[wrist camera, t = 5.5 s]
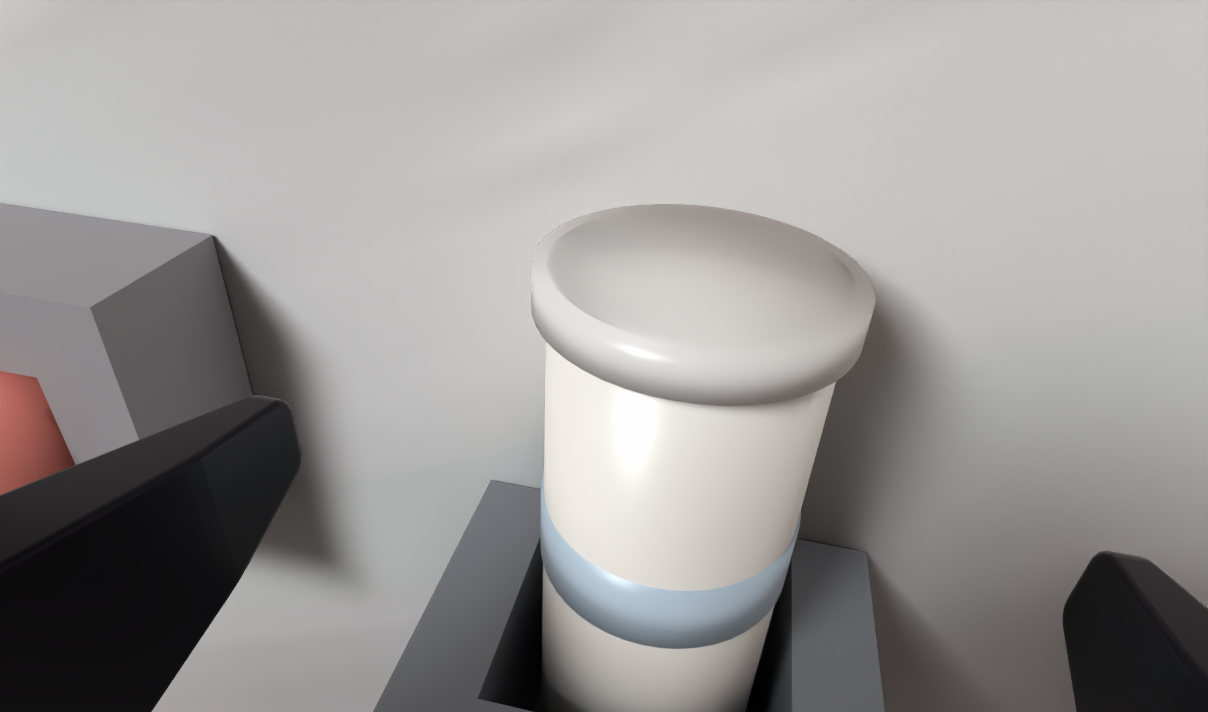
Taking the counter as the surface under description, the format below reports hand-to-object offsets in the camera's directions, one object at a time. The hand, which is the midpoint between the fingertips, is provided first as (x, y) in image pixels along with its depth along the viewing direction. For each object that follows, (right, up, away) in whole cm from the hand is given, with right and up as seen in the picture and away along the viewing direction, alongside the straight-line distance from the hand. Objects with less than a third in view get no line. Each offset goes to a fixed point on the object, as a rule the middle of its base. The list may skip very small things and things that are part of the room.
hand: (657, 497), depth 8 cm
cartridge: (+1, -1, +6) cm, 7 cm away
